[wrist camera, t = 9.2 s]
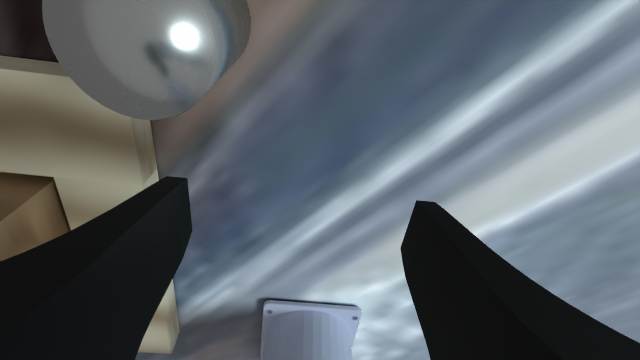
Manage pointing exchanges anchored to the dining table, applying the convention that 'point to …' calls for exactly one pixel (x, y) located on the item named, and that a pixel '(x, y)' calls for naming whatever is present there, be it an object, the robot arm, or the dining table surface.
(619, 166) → the dining table surface
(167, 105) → the metal round peg
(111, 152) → the slot board
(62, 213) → the walnut flat peg
